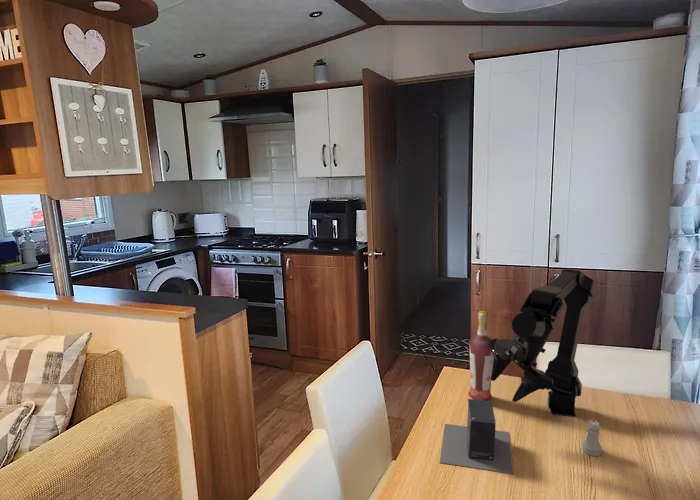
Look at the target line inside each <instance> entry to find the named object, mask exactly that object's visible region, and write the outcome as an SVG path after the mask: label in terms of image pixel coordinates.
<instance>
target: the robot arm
mask: <svg viewBox="0 0 700 500" xmlns="http://www.w3.org/2000/svg"><path fill="white" fill-rule="evenodd" d="M597 292H598V286H597V284H596V282H595V280H594V279H592V278H590V277H589V276H587V275H586V274H585V273H584V272H583V271H581V270H579V269H573V268H563V269H562V270H561V273H560V274H559V275H558V276H557V277H556V278H555V279H554V280H553V281H551V282H550V283H549V284H548V285H546V286H545V285H544V286H542V285H541V286H538V287H535V288H533V289H532V291H530V292H529V294H528V295H527V297H526V299H525V300H524V303H523V304H522V306H521V308H520V309H519V312H520V313H518V314H516V315H515V316H514V318H513V319H512V321H511V329H512V331H513V333H515V336H514V338H513V339H511V338H504V339H503V338H497V337H495V338H492V341H491V342H490V344H489V347H491V348H492V349H493V350H492V349H490V351H491V352H492V354H493V366H492V375H491V382H495V381H496V380H497V379H498V378H499V377H500V376H501V374H502V373H503V372H504V371H505V369H507V367H508V366H509V364H510V363H511V362H514V363H515V364H516V365H517V366H519V368H520V369H521V370H523V371H524V372H523V375H524V376H522V375H520V380H521V381H520V384H519V386H518V388H517V389H516V391H515V393H514V395H513V397H512V402H514V403H517V402H518V401H520V400H522V399H523V398H525V397H527V396H529V395H530V394H532V393H535V392H536V391H539V390H542V391H543V390H548V392H547V404H546V405H547V407H548V409H549V411H550V414H552V415H561V416H571V417H575V416H576V412H575V408H576V407H575V406H576V398H577V397H581V396H582V389H583V383H582V382H581V380H580V378H579V377H578V376H579V369H578V366H577V364H576V362H575V358H576V353H577V349H578V343H579V339H580V338H579V337H580V333H581V328H582V323H583V318H584V313H585V311H586V310H587V309H588V308H589V307H590V306H591V305H592V304H593V300H594V298H595V297H596V295H597ZM564 307H566V308H565V313H564V319H563V324H562V329H561V333H560V338H559V343H558V349H557V352H556V353H557V354H556V356H555V357H554V358H553V359H552V360H550V361H548V364H547V368H546V370H545V371H544V370H542V369H538V368H537V365H538V363H537V362H536V360H537V358H538V356H539V355H540V353H542V354H545V352H546V348H544V347H545V345H546V343H547V341H548V340H549V338H550V337H551V334H552V333H553V332H554V330H555V329H556V328H557V326H558V325H557V324H558V323H557V321H556V318H558V316H559V315H560V313H561V312H562V311H563V309H564Z"/></svg>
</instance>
